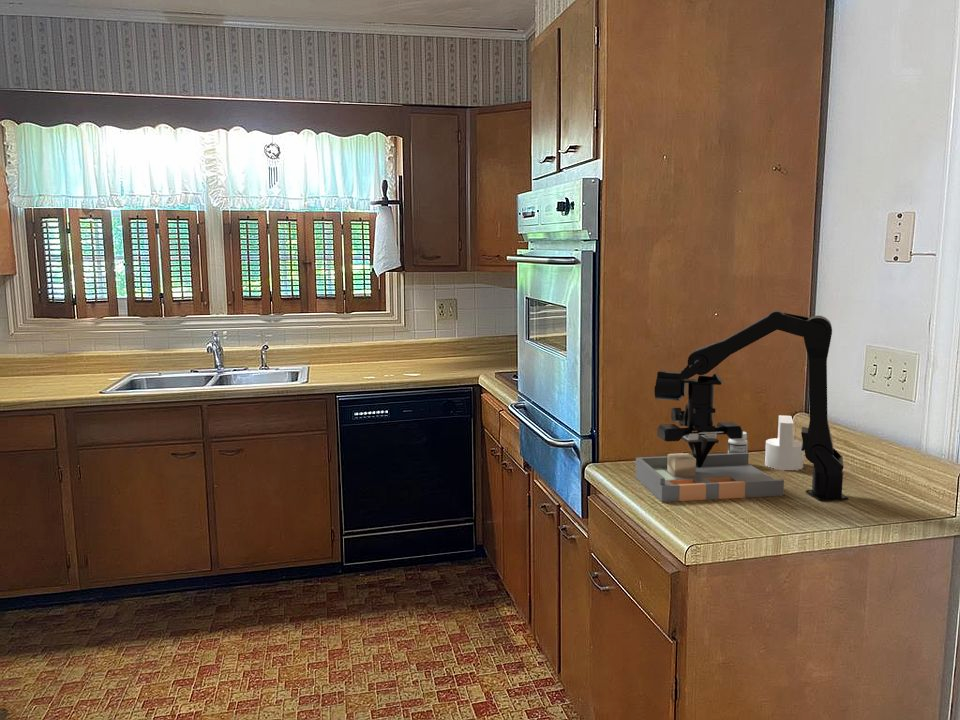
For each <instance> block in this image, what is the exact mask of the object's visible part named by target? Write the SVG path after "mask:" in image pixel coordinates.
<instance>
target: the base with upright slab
mask: <svg viewBox="0 0 960 720" xmlns="http://www.w3.org/2000/svg"><path fill="white" fill-rule="evenodd" d="M792 417H793V416H791V415H785V414H784V415H783V414H782V415H780V414H779V415H778V425H777V438H776V437H774V438H768V439H766V440H765V454H764V455H765V460H764V465H765V467H767V466H768V467H767V468H769V467H771V468H770V469H772V468H774V469H773V470H777V469H779V470H778V471H784V470H796V471H800V470H799V469H801V470H803V469H804V457H805V450H804V451H801V447H802V442H803V441H801V440H798V439H794V425H795V424H794V421H793V418H792ZM802 468H803V469H802Z"/></svg>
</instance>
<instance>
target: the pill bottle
mask: <svg viewBox="0 0 960 720" xmlns="http://www.w3.org/2000/svg"><path fill="white" fill-rule="evenodd" d="M747 434H748V433H747V432H746V431H743V438H740V439H730V438H728V440H727V453H748V447H749V446H748V445H749V444H748V443H749V442H748V440H747V437H748V435H747Z"/></svg>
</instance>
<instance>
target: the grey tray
mask: <svg viewBox="0 0 960 720" xmlns="http://www.w3.org/2000/svg"><path fill="white" fill-rule="evenodd" d="M690 455H691V456H693V454H690ZM749 457H750V455H749V453H748V452H747V453H728V452H726V453H710V454H709V453H708V455H707V457H706V459H705V461H704V463H703V465H702V467H701V468H698V467H697V466H696V475H695V476H674V475H672V474H671V473H670V472H669V471H668V470H667V460H668V455H665V456H663V455H662V456H645V457H642V456H641V457H635V479H636V480H637V481H638V482H639V483H641V484H642V485H643V486H644V487H645V488H646V489H647V490H648V491H649V492H651V494H652V495H653V496H655V498H656V499H658V500H659V501H660V502H661V503H666V502H667V503H669V502H671V503H672V502H685V501H686V502H688V501H706V500H707V501H708V500H725V499H741V498H745V499H746V498H761V497H763V498H764V497H781V496H784V492H785V491H784V487H785V480H784V479H782V478H773V477H772V476H770V475H769V474H767V473H765V472H764V471H762V470H760V469H758V468H757V467H755V466H754V465H752V464H750V463H749Z"/></svg>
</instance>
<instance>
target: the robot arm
mask: <svg viewBox="0 0 960 720" xmlns="http://www.w3.org/2000/svg"><path fill="white" fill-rule="evenodd" d="M776 331H781V332H784V333H788V334H791V335H794V336H798V337H802V338H803V340H804V345H805V346H804V347H805V349H806V354H807V359H808V382H809V383H808V384H809V386H808V388H809V390H808V393H809V422H808V427H806V426H802V427H801V430H800V431H801V433H800V434H801V439H802V441H801V442H802V447H801V451H804V457H805V459H806V460H808V461H809V462H810V463H812V466H813V469H812V480H811V481H812V483H811V489H805V493H807V494H808V495H810V496H812V497H813V498H815V499H817V500H818V501H821V502H828V501H845V500H849V497H848V496H847V495H845V494H843V482H844V472H843V470H844V460H843V459H844V458H843V456H842V455H841V454H840V453H839V452H838V451H837V449H835V447H834V443H833V437H832V433H831V429H830V425H829V419H828V356H829V350H830V346H831V340H832V335H833V328H832V323H831V321H830V320H829V319H828V318H827V317H825V316H823V315H813V316H811V317H807V316H802V315H798V314H794V313H793V314H792V313H787V312H784V311H781V310H773V311H772V312H770V313H769V314H768V315H766V316H764V317H763V318H761V319H758V320H757V321H756V322H754V323H752V324H750V325H748V326H746V327H744V328H743V329H741V330H739V331H737V332H735V333H734V334H731V335H730V336H728V337H726V338H725V339H721V340H718V341H716V342H713V343H709V344H707V345H704V346H701V347H698V348H696V349H695V350H694V351H693V352H691V353H690V354H689V356H688V358H687V365H686V367H684V368H682V369H681V371H679V372H678V371H667V370H658V371H657V374H656V381H655V385H654V389H653V390H654V391H653V392H654V398H655V399H656V400H663V401H677V402H678V401H679V402H681V400H682V397H686V395H687V404H685V406H684V407H685V409H684V410H682V408H681V407H672V408H671V410H670V411H671V413H670V419H671V422H672V423H669V424H659V426H658V427H657V433H656V434H657V437H658V438H660V439H661V440H663V441H664V442H668V443H669V442H680V440H682V441H684V442H685V443H687V444H688V446H689V449H690V451H691V455H693V457H694V458H696V466H697V467H698V468H701V467H702V465H703V463H704V461H705V459H706V457H707V455H708V454H709V453H710V452H711V450H712V449H713V447H714V446H715V444H718V443H719V442H720V440H719V439H718V438H717V436H718V435H726V436H727V437H728V439H740V438H743V432H744V431H743V430H744V429H743V428H742V427H741V425H739V424H737V423H735V422H733V421H720V422H717V424H716V425H714V414H715V413H716V409H717V408H715V407H714V403H715V402H714V398H715V397H714V395H715V394H714V393H715V386H718V385H719V386H721V385H722V384H723V383H724V380H723V378H721V377H720V376H719V375H718V373H717V372H714V373H713V375H706V374H708V373H710V372H711V371H712V370H713V369H715V368H716V367H717V366H719V365H720V364H721V363H722V362H724V361H725V360H726V359H727V358H728V357H730V356H732V355H733V354H735V353H736V352H738V351H740V350H743V349H744V348H745V347H748V346H750V345H751V344H753V343H755V342H757V341H759V340H760V339H762V338H764V337H765V336H768V335H770V334H771V333H774V332H776ZM696 375H698V378H692V377H694V376H696ZM687 386H688V387H687ZM687 388H688V389H687ZM687 390H688V392H687ZM675 422H676V423H677V422H678V425H676V424H675ZM679 426H681V427H679ZM682 426H683V427H682Z"/></svg>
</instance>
